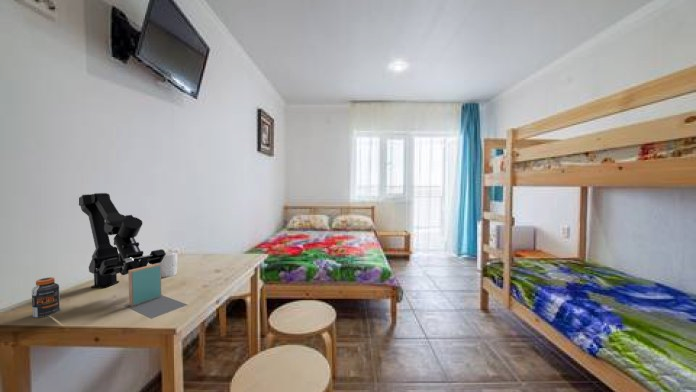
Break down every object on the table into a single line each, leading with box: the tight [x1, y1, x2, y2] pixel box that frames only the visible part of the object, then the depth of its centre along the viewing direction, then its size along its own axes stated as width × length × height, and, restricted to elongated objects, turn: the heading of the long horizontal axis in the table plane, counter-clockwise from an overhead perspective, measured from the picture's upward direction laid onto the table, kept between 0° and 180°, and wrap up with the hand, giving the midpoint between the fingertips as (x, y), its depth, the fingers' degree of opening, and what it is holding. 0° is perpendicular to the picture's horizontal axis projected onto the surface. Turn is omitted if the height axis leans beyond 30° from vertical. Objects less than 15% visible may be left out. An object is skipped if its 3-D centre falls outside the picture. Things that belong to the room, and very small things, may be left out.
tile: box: [127, 263, 162, 306], centre depth 96 cm, size 2×9×12 cm, turn 150°
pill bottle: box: [31, 277, 61, 318], centre depth 88 cm, size 6×6×11 cm
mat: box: [123, 294, 188, 319], centre depth 93 cm, size 19×11×1 cm, turn 60°
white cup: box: [157, 250, 178, 278], centre depth 125 cm, size 8×8×10 cm
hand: (143, 280), depth 97 cm, fingers closed
